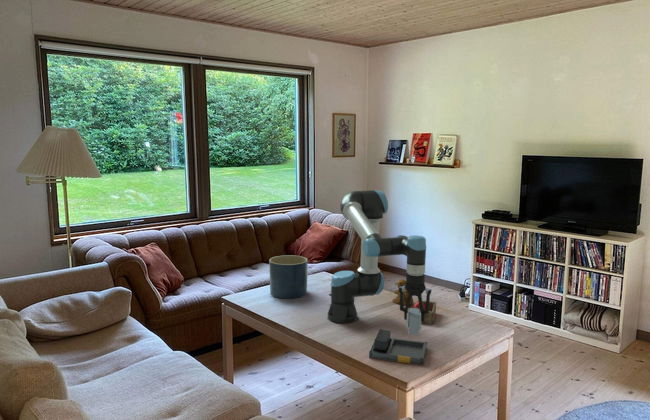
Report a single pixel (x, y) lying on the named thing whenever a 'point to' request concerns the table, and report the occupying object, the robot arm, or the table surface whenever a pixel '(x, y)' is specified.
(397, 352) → the grey flat rectangular tray
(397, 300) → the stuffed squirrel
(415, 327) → the pale blue upright block
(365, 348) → the table surface
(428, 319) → the open wooden box
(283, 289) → the planter
